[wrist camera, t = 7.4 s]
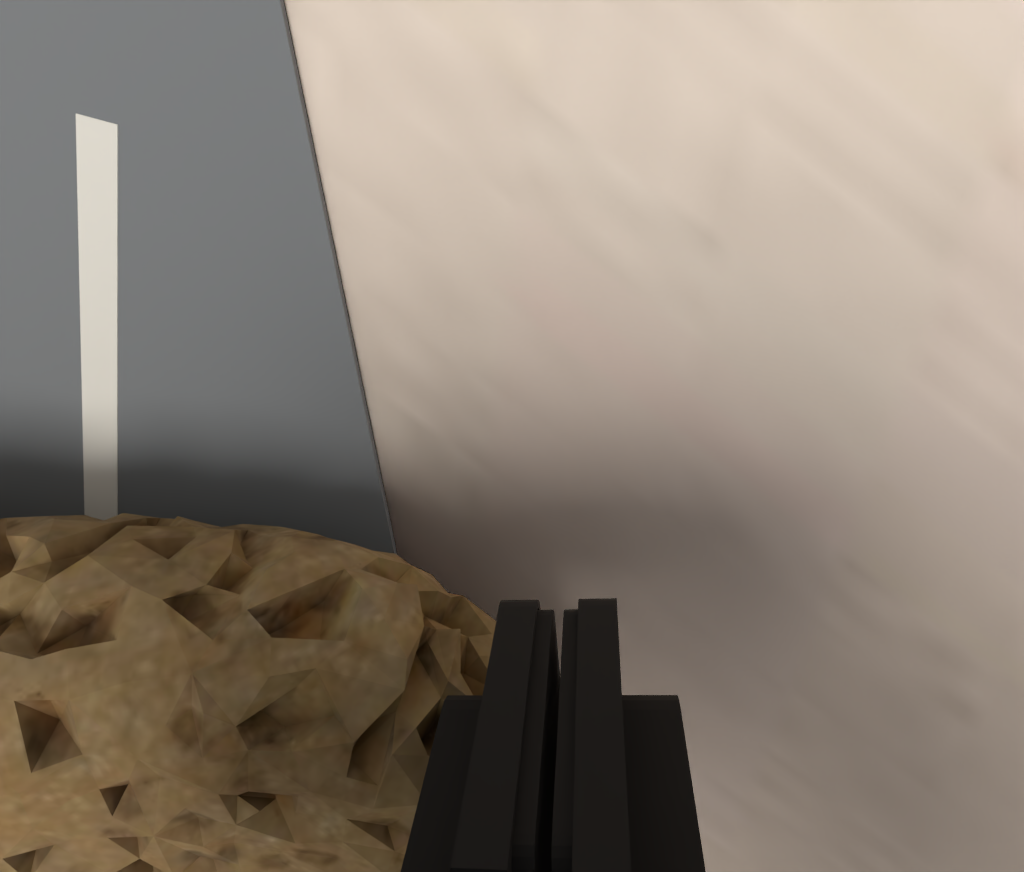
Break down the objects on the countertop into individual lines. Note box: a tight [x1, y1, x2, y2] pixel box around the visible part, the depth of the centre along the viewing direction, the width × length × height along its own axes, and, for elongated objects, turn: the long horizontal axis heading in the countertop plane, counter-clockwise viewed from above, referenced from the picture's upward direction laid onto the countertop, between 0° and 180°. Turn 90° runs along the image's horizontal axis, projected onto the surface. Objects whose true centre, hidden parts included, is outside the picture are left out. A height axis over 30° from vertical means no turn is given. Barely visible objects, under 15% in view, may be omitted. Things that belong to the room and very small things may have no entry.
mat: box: [0, 0, 397, 554], centre depth 15 cm, size 24×14×1 cm, turn 6°
